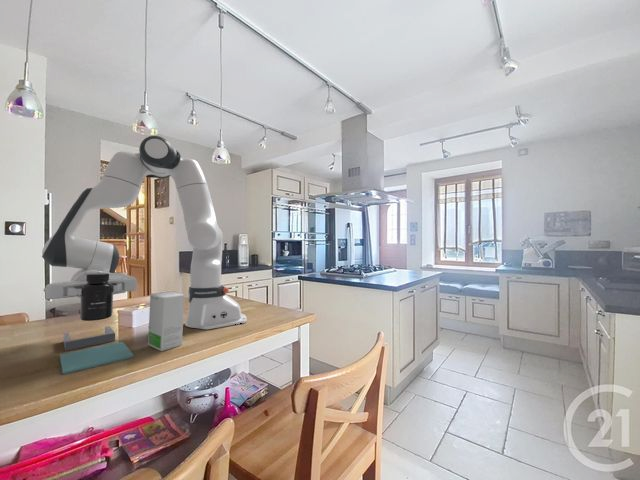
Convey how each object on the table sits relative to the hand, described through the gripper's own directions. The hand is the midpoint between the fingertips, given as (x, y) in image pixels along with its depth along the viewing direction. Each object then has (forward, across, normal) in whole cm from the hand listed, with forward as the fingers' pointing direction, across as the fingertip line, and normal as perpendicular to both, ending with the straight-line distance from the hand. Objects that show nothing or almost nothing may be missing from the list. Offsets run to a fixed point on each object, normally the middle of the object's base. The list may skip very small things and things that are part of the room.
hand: (98, 290), depth 74 cm
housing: (-17, 0, +18) cm, 25 cm away
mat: (0, 0, +18) cm, 18 cm away
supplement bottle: (-1, 0, +8) cm, 8 cm away
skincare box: (+3, +16, +18) cm, 24 cm away
